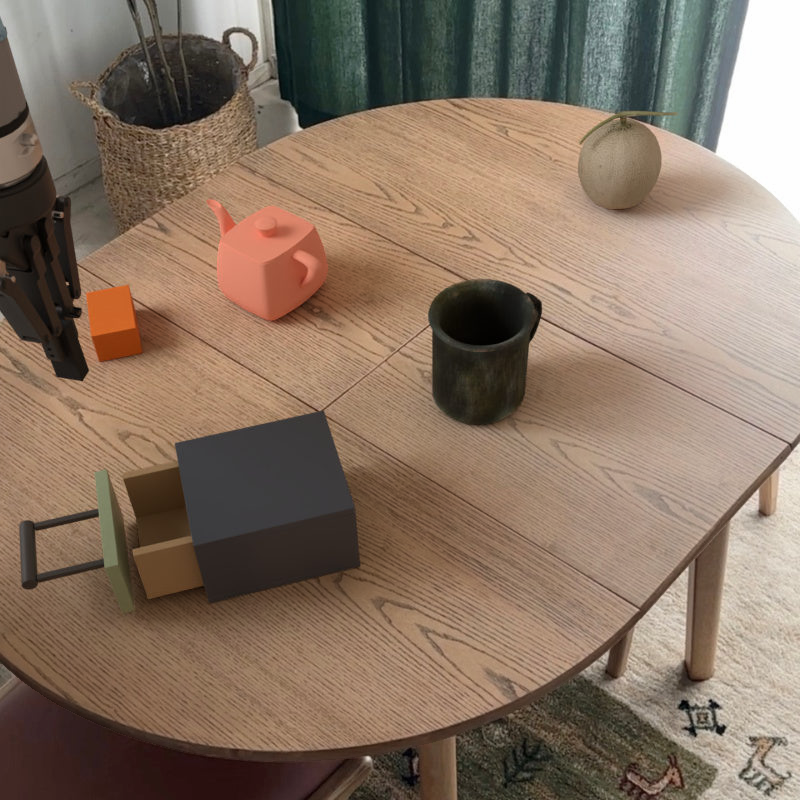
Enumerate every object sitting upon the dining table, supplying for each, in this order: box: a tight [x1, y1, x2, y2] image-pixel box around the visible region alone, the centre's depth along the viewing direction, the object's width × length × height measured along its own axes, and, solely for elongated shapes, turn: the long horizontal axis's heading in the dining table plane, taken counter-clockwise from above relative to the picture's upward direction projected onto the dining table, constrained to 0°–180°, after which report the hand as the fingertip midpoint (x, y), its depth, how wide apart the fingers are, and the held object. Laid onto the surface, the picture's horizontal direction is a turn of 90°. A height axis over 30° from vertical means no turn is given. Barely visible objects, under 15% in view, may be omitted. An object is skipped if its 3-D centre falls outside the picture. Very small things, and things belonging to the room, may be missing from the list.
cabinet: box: [174, 410, 361, 604], centre depth 101 cm, size 15×13×9 cm
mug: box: [427, 278, 543, 426], centre depth 114 cm, size 11×15×12 cm
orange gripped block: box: [85, 284, 143, 363], centre depth 124 cm, size 5×8×4 cm, turn 16°
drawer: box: [18, 460, 204, 614], centre depth 99 cm, size 21×11×7 cm, turn 106°
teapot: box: [206, 198, 329, 321], centre depth 127 cm, size 12×18×10 cm, turn 51°
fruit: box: [577, 110, 678, 210], centre depth 136 cm, size 10×12×15 cm
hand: (73, 373), depth 102 cm, fingers closed
